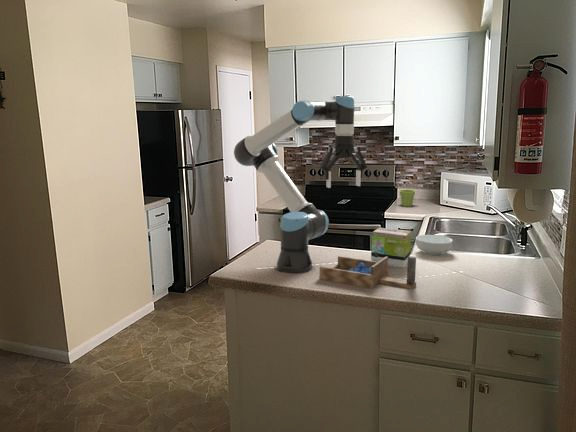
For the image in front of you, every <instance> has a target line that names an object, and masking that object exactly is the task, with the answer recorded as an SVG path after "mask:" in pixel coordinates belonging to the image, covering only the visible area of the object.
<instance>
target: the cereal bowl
mask: <svg viewBox="0 0 576 432" xmlns="http://www.w3.org/2000/svg"><path fill="white" fill-rule="evenodd" d="M415 245H416V247H417V249H419V250H420V251H422V252H423V253H424V254H425V255H431V256H440V255H442V254H444V253H445V254H446V253H447V252H449V251H451V249H452V247H453V239H452V238H450V237H449V236H448V237H447V236H445V235H444V236H443V235H438V234H437V235H436V234H421V235H417V236H416V237H415Z"/></svg>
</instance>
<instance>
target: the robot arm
mask: <svg viewBox="0 0 576 432" xmlns="http://www.w3.org/2000/svg"><path fill="white" fill-rule="evenodd" d="M311 121H319V122H320V121H335V122H334V123H335V129H334V130H335V132H334V133H335V137H334V147H332V146H331V147H327V152H326V155H325V156H324V159H323V161H322V163H321V165H320V167H319V169H320V170H321V171H322V172H324V179H325V180H326V181H325V182H326V188H328V189H331V187H332V172H331V171H330V170H331V169H332V168H333V166H334V165H335V164H336V163H337V161H338V160H339V159H344V158H345V159H349V160H350V161H351V162H352V163H353V164H354V166H355V167H356V170H355V186H357V187H361V179H362V178H363V171H364V170H365V169H367V168H368V166H367V163H366V161H365V159H364V156H363V155H362V151H361V146H355V147H354V144H355V143H354V141H355V140H354V138H355V137H354V134H355V123H354V121H355V98H354V96H351V95H341V96H340V95H339V96H336V97H335V100H334V101H315V100H314V101H312V100H311V101H310V100H300V101H297V102H295V103H294V104H293V107H292V109H290V110H289V111H287V112H286V113H285V114H283V115H281V116H280V117H279V118H277V119H275V120H274V121H272V122H271V123H270V124H268V125H266V126H265V127H264V128H262V129H261V130H259V131H257V132H256V133H254V134H253V135H247V136H245V137H244V138H243V139H241V140H239V141H238V142H237V144H236V145H235V146H234V148H233V149H234V150H233V155H234V158H235V160H236V162H238V164H240V165H241V166H245V167H252V166H253V167H254V168H255V170H256V171H257V172H258V173H259V174H263V175H264V176H265V178H266V179H267V181H268V182H269V183H270V185H271V187H272V188H273V189H274V190H275V192H276V193H277V195H278V196H279V197H280V199H281V200H282V202H283V203H284V204H285V206H286V207H287V209H288V210H289V212H288V213H285V214H283V215H282V217H280V225H279V227H280V252H279V256H278V258H277V260H276V261H277V262H276V269H277V271H279V272H282V273H288V274H301V273H308V272H310V271H311V270H312V269H313V261H312V258H311V255H310V252H309V241H310V240H313V239H315V238H320V237H321V236H322V235H324V234H325V233H326V232H327V230H328V228H329V224H330V222H329V220H330V219H329V217H328V215H327V213H325V211H323V210H321V209H317V208H316V206H315V205H314V204H313V203H311V202H308V201H307V200H306V198H305V197H304V196H303V194H302V192H300V190H299V189H298V187H297V186H296V184H295V183H294V182H293V181H292V179H291V178H290V176H289V175H288V174H287V172H286V171H285V170H284V167H282V165H281V164H280V163H279V160H280V158H279V155H278V148H277V146H276V144H275V143H277V142H278V141H280V140H281V139H282V138H284V137H286V136H288V135H289V134H291V133H292V132H293V131H295V130H296V129H298V128H300V127H302V126H303V125H305V124H306V123H308V122H311ZM353 152H354V153H355V155H356V157H357V158H356V157H355V155H354V154H353ZM333 153H335V154H334V156H333ZM332 156H333V157H332ZM331 158H332V159H331ZM357 159H358V160H357Z"/></svg>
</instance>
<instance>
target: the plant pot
mask: <svg viewBox="0 0 576 432" xmlns="http://www.w3.org/2000/svg"><path fill="white" fill-rule="evenodd" d="M398 191H399V196H400V202H401V206H402V207H404V208H405V207H408V208H409V207H413V203H414V198H415V193H416V192H417V190H414V189H399V190H398Z"/></svg>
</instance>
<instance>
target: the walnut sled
mask: <svg viewBox="0 0 576 432" xmlns="http://www.w3.org/2000/svg"><path fill="white" fill-rule="evenodd" d="M361 262H362V263H364V264H365V267H366V268H370V267H371V274H365V273H359V272H353V271H349V270H350V269H351V268H352V269H353V270H354V269H355V268H356V267H357V268H358V265H359V263H361ZM388 264H389V263H388V257H384V258H383V259H381V260H380V261H378V262H376V261H371V260H367V259H361V258H355V257H354V258H353V257H348V256H340V255H338V256H337V264H336V265H335V266H333V267H327V266H319V272H318V273H319V276H318V277H319V280H322V281H329V282H335V283H340V284H346V285H352V286H357V287H362V288H367V289H373V288H374V287H375V286H377V285H378V284H380V285H381V284H383V285H388V286H394V287H400V288H405V289H410V290H411V289H412V290H413V289H415V287H417V281H416V271H417V270H416V267H417V257H416V256H413V255H410V256H409V257H408V264H407V265H406V267H407V268H406V269H407V270H406V280H405V279H400V278H393V277H388V276H389V266H388Z"/></svg>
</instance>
